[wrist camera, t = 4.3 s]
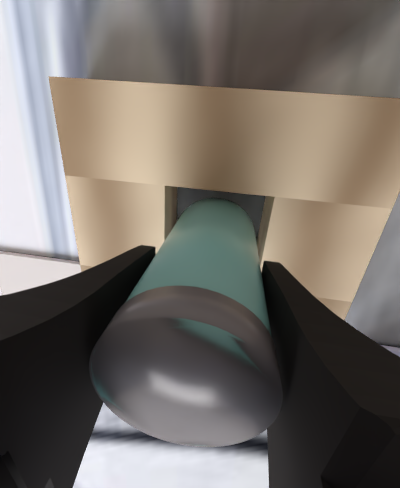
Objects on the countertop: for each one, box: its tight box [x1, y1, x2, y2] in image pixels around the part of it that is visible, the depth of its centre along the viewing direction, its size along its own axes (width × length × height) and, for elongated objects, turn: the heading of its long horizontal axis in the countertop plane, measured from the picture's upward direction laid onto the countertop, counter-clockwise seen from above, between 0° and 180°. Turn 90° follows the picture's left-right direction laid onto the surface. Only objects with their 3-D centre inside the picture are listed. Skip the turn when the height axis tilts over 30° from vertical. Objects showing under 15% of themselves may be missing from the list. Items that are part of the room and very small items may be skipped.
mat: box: [0, 251, 81, 295], centre depth 21 cm, size 9×9×1 cm
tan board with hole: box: [48, 76, 400, 320], centre depth 15 cm, size 16×14×3 cm
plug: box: [89, 198, 283, 447], centre depth 10 cm, size 4×4×9 cm
